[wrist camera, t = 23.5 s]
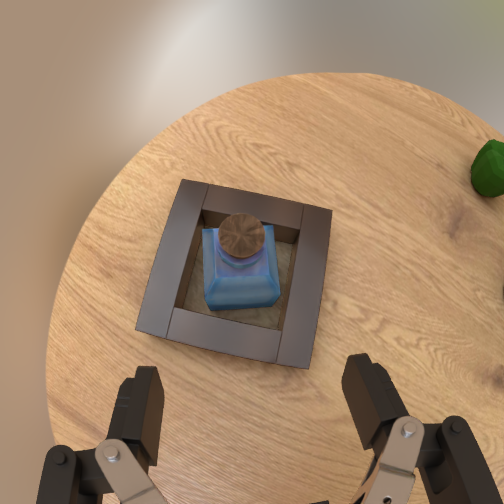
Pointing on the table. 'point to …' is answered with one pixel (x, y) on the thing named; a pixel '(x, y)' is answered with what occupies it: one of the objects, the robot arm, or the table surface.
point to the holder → (227, 331)
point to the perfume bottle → (240, 264)
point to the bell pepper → (489, 169)
